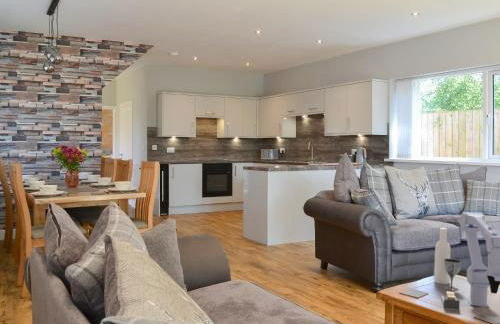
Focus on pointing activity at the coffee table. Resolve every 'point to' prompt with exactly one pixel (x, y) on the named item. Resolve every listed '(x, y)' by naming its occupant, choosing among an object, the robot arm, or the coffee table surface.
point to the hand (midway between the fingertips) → (493, 292)
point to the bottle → (441, 258)
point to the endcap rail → (451, 304)
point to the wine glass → (452, 270)
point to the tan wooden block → (450, 295)
